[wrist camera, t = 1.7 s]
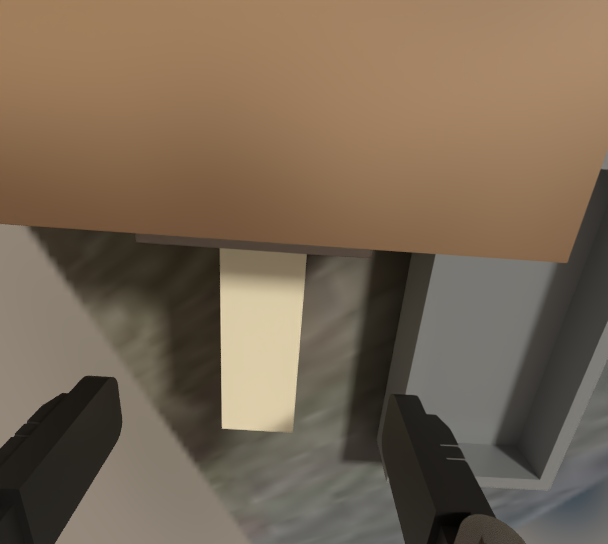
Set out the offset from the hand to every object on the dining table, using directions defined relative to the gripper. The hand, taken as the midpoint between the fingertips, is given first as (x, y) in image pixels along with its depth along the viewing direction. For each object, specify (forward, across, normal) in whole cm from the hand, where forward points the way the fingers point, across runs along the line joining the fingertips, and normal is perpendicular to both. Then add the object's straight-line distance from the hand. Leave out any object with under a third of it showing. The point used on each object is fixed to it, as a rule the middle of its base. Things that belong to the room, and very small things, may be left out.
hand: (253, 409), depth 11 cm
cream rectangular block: (+7, 0, -4) cm, 8 cm away
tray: (+7, -10, 0) cm, 13 cm away
